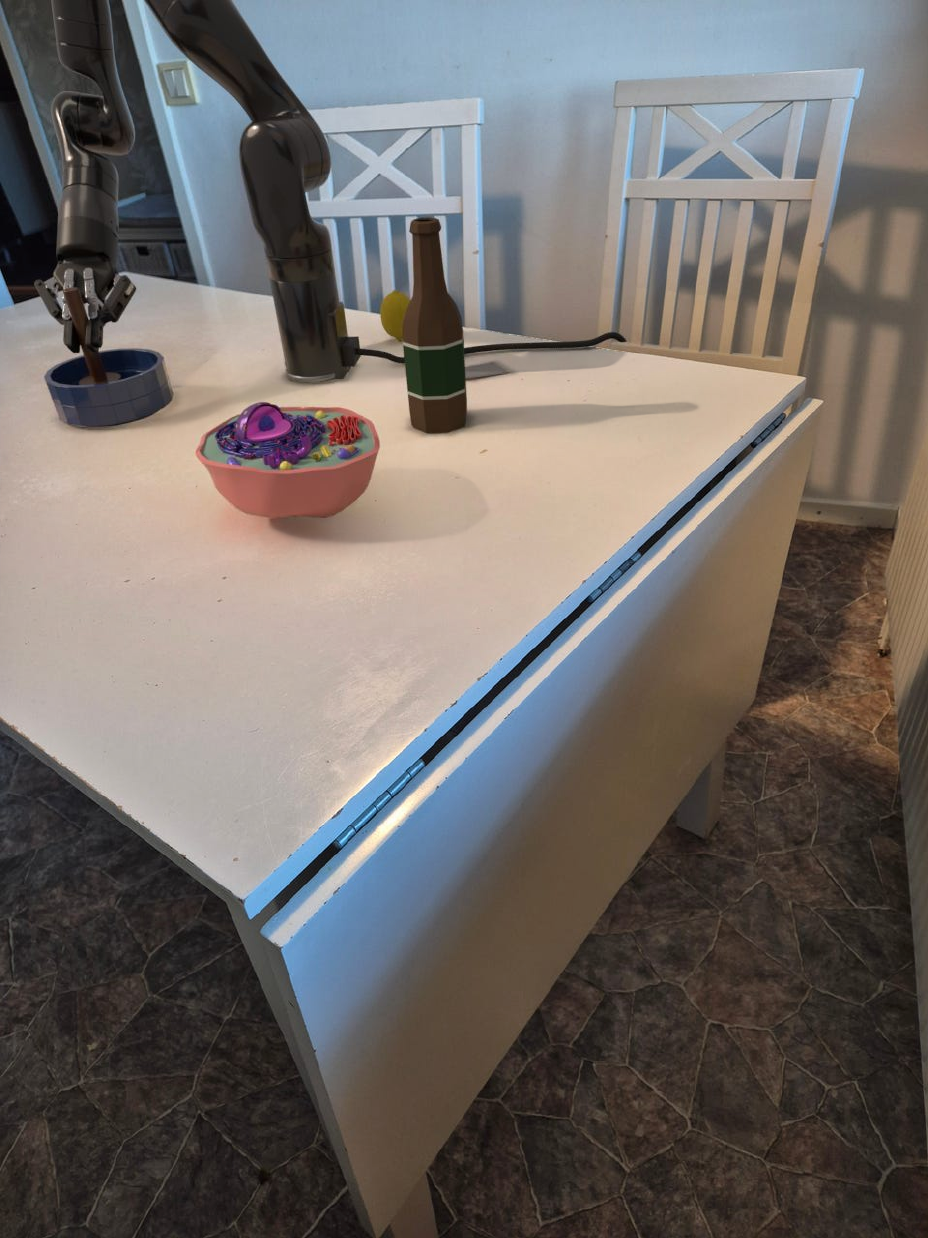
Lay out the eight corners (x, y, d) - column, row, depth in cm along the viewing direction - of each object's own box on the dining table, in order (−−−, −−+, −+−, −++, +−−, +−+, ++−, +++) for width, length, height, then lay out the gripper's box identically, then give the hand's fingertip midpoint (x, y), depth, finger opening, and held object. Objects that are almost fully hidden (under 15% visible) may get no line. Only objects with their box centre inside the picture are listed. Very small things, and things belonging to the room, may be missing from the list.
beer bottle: (479, 414, 106) (470, 213, 92) (453, 438, 101) (440, 227, 86) (426, 407, 109) (410, 211, 95) (398, 430, 104) (377, 225, 89)
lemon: (412, 346, 131) (407, 294, 126) (379, 345, 132) (373, 294, 127) (420, 335, 135) (416, 285, 130) (388, 335, 136) (383, 285, 131)
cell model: (323, 568, 78) (303, 459, 71) (180, 521, 87) (150, 421, 80) (422, 493, 89) (413, 394, 82) (286, 459, 98) (268, 367, 91)
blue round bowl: (190, 387, 120) (180, 347, 117) (147, 430, 108) (134, 386, 104) (92, 388, 122) (79, 349, 119) (38, 431, 110) (21, 387, 106)
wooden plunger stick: (130, 382, 116) (100, 282, 108) (113, 397, 111) (80, 294, 103) (93, 383, 116) (61, 283, 108) (74, 398, 112) (39, 295, 104)
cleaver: (509, 376, 119) (494, 366, 123) (509, 368, 118) (494, 357, 122) (425, 390, 114) (412, 378, 118) (425, 381, 114) (412, 370, 117)
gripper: (23, 216, 107) (15, 338, 105) (125, 210, 107) (120, 333, 104) (54, 250, 115) (47, 365, 112) (149, 245, 114) (145, 360, 112)
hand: (82, 349), depth 108 cm, fingers closed on wooden plunger stick
